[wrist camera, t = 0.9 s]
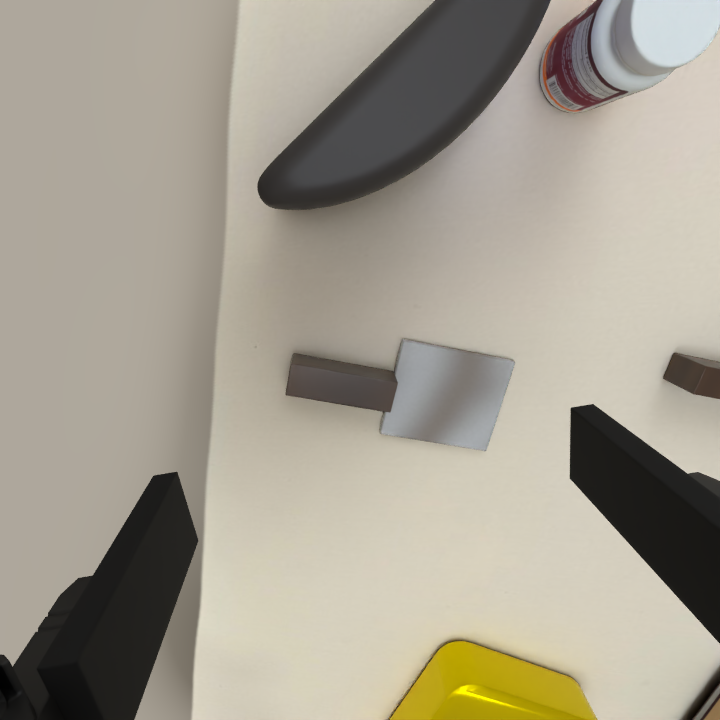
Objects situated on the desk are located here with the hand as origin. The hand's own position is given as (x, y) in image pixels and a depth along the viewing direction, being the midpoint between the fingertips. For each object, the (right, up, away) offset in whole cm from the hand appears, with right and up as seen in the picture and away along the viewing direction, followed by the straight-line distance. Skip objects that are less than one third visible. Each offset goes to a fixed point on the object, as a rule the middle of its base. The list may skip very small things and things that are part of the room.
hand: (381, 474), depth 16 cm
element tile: (+10, -29, +28) cm, 42 cm away
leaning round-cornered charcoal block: (+1, +19, +12) cm, 22 cm away
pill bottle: (+12, +21, +12) cm, 27 cm away
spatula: (+2, +2, +17) cm, 18 cm away
